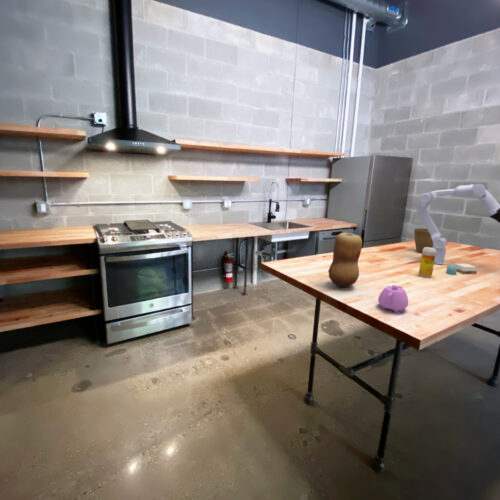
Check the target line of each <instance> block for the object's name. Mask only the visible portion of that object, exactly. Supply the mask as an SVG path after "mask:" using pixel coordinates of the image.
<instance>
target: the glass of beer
mask: <svg viewBox="0 0 500 500" xmlns="http://www.w3.org/2000/svg"><path fill="white" fill-rule="evenodd" d="M435 256H436V249H435V248H430V247H424V249H423V251H422V253H421V258H420V264H419V269H418V275H419V276H420V277H422V278H431V277H432V276H433V271H434V266H435V264H434V261H435Z"/></svg>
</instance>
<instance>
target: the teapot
mask: <svg viewBox="0 0 500 500" xmlns="http://www.w3.org/2000/svg"><path fill="white" fill-rule="evenodd" d="M377 301H378V304H379V305H380V306H381V309H383V310H393V312H394V313H396V314H398V313H400V311H404V310H405V309H406V308H408V306H409V297H408V295H407V292H406V290H405V289H404V288H403V286H401V285H397V284H396V285H395V284H393V285H386V286H385V288H383V289H382V290H381V292H380V294H379V296H378V300H377Z"/></svg>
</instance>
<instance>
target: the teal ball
mask: <svg viewBox="0 0 500 500" xmlns="http://www.w3.org/2000/svg"><path fill="white" fill-rule="evenodd" d="M457 267H458V266H456V265H455V264H450V263H449V264H447V266H446V269H445V270H446V272H445V274H446V275H450V276H456V275H457V273H458V272H457Z"/></svg>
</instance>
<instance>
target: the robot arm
mask: <svg viewBox="0 0 500 500" xmlns="http://www.w3.org/2000/svg"><path fill="white" fill-rule="evenodd" d="M452 195H456V196H457V197H463V196H472V195H475V196H476V198H477V199H478V201H479V202H480V203H481V204H482V206H483V207H484V208H485V209H486V210H487V212H488V213H489V214H491V215H489V218H491V219H493V220H495V221H496V222H497V223H499V224H500V203H499V202H498V201H497V199H495V197H494V196H493V195H492V193H490V192H489V190H487V189H486V187H485V185H484V184H482V183H476V184H474V183H471V184H465V185H464V184H460V185H458V186H456V187H455V188H452V189H449V188H448V189H438V190H433V191H429V192H424V193H421V194H420V196H419V197H418V198H417V205H416V206H417V207H416V211H417V214H418V215H419V217H420V219H421V220H422V222H423V224H424V225H425V229H427V230H428V231H429V233H430V235H431V238H432V241H433V247H432V248H435V249H436V256H435V261H434V265H443V266H444V265H446V264H445V258H446V257H445V256H446V252H447V248H446V245H448V240H447V238H446V237H444V236H443V234H442V233H441V232H440V231H439V229H438V227H437V226H436V223H435V222H434V220H433V219H432V217H431V215H430V213H429V211H428V207H429V205H430V204H431V203H432V202H433V200H434V199H436V198H438V197H444V196H452Z"/></svg>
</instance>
